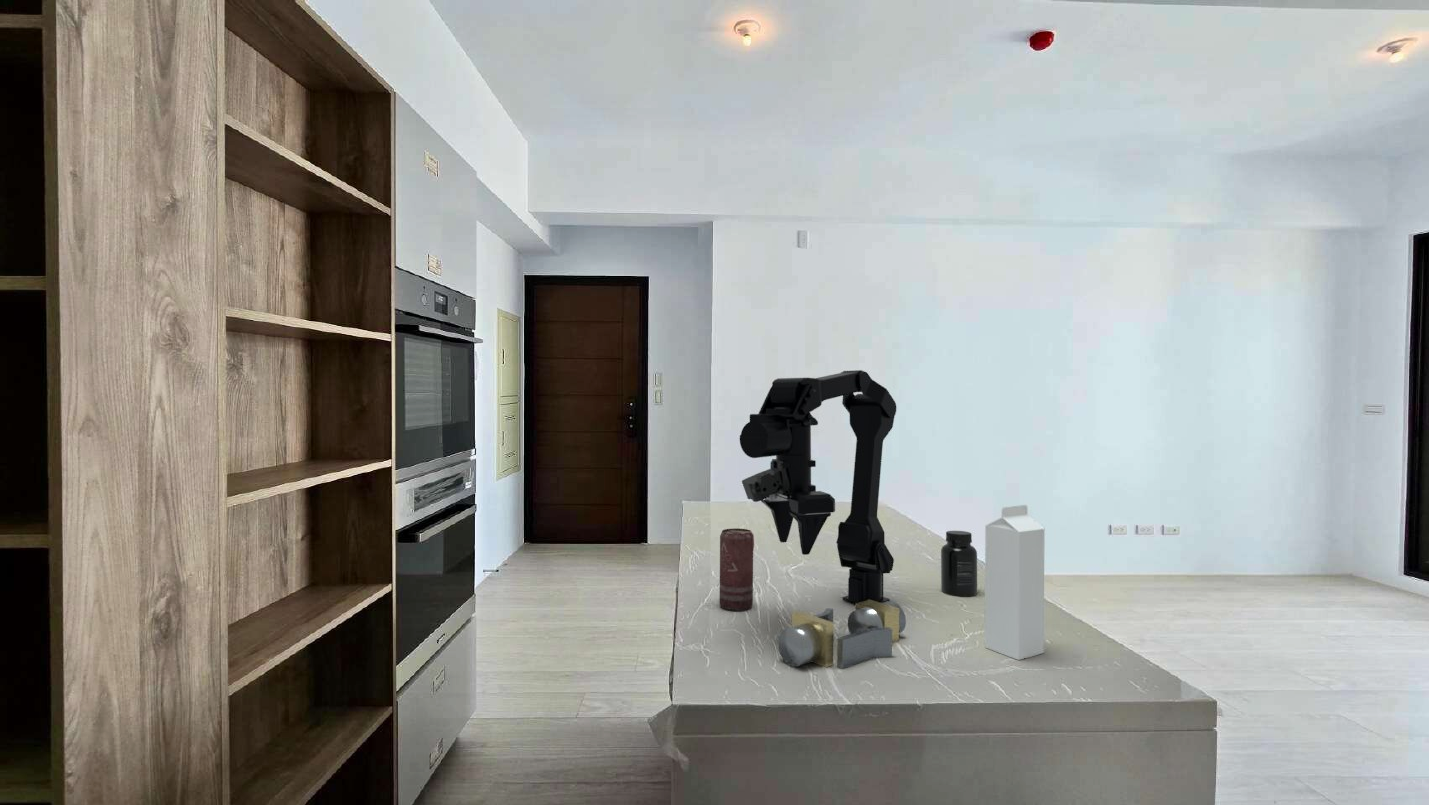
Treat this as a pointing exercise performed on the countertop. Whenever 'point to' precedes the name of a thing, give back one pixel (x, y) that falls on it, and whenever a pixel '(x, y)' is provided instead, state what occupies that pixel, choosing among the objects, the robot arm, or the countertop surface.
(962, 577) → the supplement bottle
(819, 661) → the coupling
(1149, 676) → the countertop surface
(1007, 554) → the milk
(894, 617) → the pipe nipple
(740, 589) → the can
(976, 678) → the countertop surface
